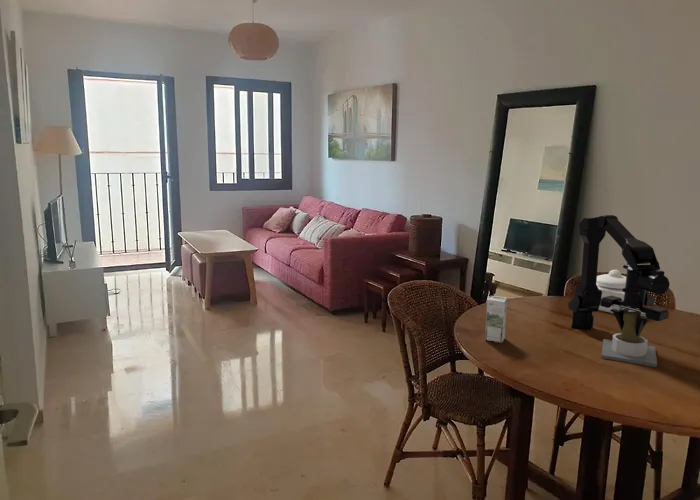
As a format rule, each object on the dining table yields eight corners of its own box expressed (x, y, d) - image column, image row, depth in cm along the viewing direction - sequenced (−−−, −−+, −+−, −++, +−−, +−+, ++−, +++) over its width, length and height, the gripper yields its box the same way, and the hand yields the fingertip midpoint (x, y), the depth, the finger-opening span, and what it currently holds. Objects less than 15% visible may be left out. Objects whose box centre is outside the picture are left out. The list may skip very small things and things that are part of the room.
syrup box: (504, 338, 182) (507, 296, 179) (502, 343, 177) (504, 301, 174) (487, 335, 184) (490, 294, 182) (484, 341, 179) (486, 299, 176)
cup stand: (601, 358, 165) (602, 342, 164) (603, 341, 179) (604, 327, 178) (656, 367, 159) (658, 351, 158) (654, 349, 173) (656, 334, 172)
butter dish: (599, 298, 232) (603, 262, 229) (644, 308, 218) (649, 270, 215) (581, 306, 220) (584, 268, 217) (627, 317, 207) (631, 276, 204)
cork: (642, 350, 165) (646, 316, 163) (621, 348, 166) (625, 314, 164) (636, 343, 171) (640, 310, 169) (616, 342, 172) (619, 309, 170)
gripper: (681, 288, 162) (674, 338, 165) (621, 276, 177) (616, 321, 180) (661, 294, 156) (655, 345, 159) (601, 280, 171) (596, 327, 174)
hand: (630, 334), depth 168 cm, fingers closed on cork, 4 cm apart
